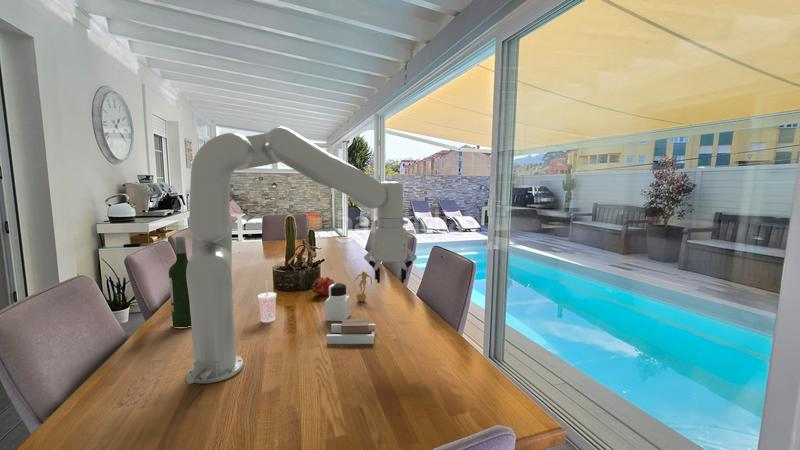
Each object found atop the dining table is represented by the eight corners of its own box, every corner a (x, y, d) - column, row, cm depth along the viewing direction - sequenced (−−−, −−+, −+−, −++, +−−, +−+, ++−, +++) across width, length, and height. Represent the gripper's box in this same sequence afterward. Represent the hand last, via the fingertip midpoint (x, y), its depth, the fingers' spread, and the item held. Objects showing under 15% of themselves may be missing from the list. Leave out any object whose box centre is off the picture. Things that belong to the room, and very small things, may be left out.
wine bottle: (175, 321, 123) (169, 235, 120) (201, 318, 126) (196, 234, 122) (170, 330, 116) (162, 239, 112) (198, 327, 118) (191, 237, 115)
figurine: (349, 301, 144) (349, 272, 143) (358, 297, 150) (357, 269, 148) (367, 304, 141) (367, 274, 139) (375, 300, 146) (375, 271, 144)
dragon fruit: (310, 301, 148) (333, 299, 157) (321, 293, 144) (344, 290, 153) (304, 283, 152) (327, 281, 161) (315, 274, 147) (338, 272, 156)
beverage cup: (255, 322, 123) (253, 282, 121) (265, 315, 129) (264, 277, 127) (270, 324, 121) (269, 283, 120) (281, 317, 127) (279, 278, 126)
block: (367, 341, 109) (367, 325, 108) (341, 341, 108) (341, 325, 108) (368, 334, 113) (368, 319, 113) (343, 334, 113) (342, 319, 112)
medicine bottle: (350, 314, 130) (349, 282, 129) (345, 321, 123) (344, 287, 122) (331, 313, 131) (330, 281, 130) (325, 321, 124) (324, 287, 122)
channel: (373, 343, 106) (373, 335, 106) (326, 343, 106) (326, 335, 106) (375, 331, 115) (375, 323, 115) (331, 331, 115) (331, 323, 115)
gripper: (418, 221, 110) (418, 278, 113) (362, 222, 110) (363, 278, 112) (420, 224, 103) (419, 285, 105) (359, 224, 103) (360, 285, 105)
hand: (390, 281), depth 109 cm, fingers open, 6 cm apart
